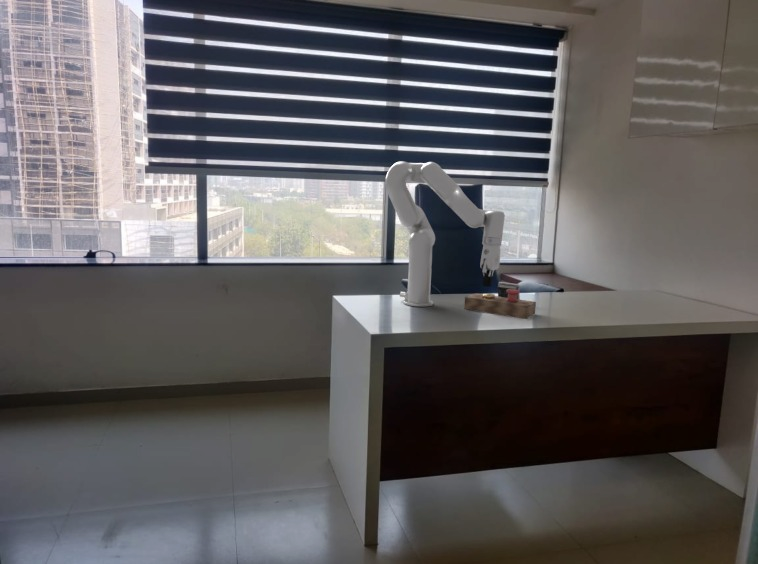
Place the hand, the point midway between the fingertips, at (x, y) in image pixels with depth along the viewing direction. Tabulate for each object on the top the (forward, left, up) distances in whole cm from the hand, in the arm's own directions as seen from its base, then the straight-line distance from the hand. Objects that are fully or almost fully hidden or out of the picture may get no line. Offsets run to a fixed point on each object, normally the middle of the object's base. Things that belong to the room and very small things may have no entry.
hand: (486, 286), depth 227 cm
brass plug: (+1, 0, -10) cm, 10 cm away
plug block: (+6, 0, -10) cm, 11 cm away
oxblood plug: (+11, 0, -7) cm, 13 cm away
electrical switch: (+3, +19, -10) cm, 22 cm away
